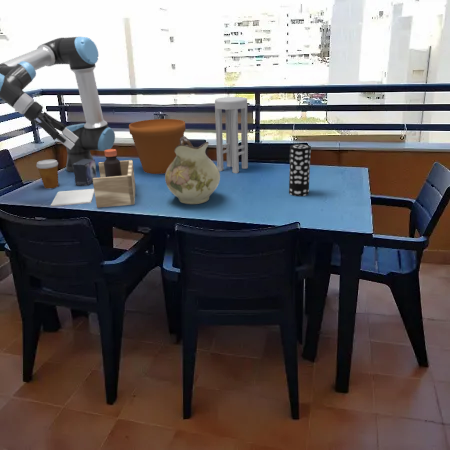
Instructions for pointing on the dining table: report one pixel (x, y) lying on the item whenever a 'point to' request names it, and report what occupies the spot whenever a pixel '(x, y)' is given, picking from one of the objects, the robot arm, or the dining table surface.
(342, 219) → the dining table surface
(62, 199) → the mat
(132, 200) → the crate
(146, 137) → the flowerpot
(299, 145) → the white-spotted black cylinder
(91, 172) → the small box
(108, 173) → the vinegar
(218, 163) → the stool
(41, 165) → the disposable coffee cup
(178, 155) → the pitcher
